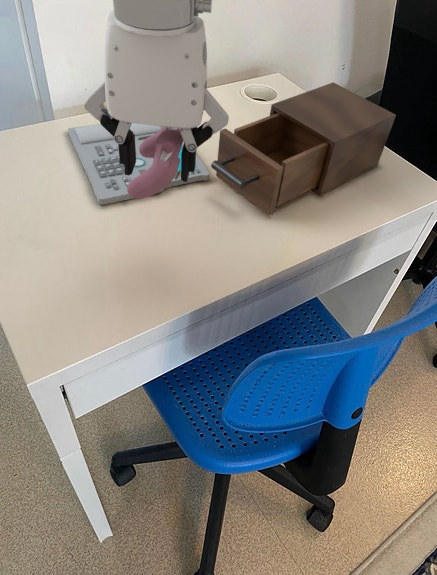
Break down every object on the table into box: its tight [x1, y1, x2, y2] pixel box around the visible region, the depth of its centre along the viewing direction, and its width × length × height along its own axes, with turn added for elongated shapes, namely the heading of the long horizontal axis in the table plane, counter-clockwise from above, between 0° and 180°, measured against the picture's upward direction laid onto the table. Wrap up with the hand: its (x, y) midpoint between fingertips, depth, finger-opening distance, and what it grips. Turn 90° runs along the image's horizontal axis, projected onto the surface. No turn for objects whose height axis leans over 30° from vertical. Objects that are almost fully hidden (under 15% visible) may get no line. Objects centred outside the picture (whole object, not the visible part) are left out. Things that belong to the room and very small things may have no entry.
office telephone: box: [67, 123, 210, 205], centre depth 89 cm, size 23×3×20 cm
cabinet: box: [269, 82, 397, 197], centre depth 90 cm, size 17×15×11 cm
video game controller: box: [127, 127, 183, 199], centre depth 57 cm, size 10×5×7 cm, turn 177°
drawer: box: [210, 113, 331, 217], centre depth 83 cm, size 20×13×9 cm
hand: (158, 170), depth 58 cm, fingers closed on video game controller, 5 cm apart
